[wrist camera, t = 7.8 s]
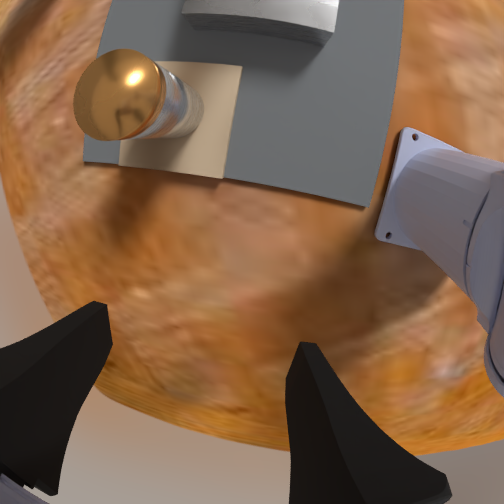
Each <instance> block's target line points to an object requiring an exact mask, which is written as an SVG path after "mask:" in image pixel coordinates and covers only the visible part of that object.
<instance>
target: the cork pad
mask: <svg viewBox="0 0 504 504" xmlns="http://www.w3.org/2000/svg"><path fill="white" fill-rule="evenodd" d="M154 62H156V63H157V64H159V65H160V66H162V67H163V68H165V69H166V70H168V71H169V72H171V73H172V74H174V75H175V76H176V77H178V78H179V79H181V80H182V81H183V82H185V83H186V84H188V85H189V86H190V87H192V88H193V89H195V90H196V91H197V92H198V93H199V95H200V96H201V98H202V100H203V104H204V114H203V118H202V120H201V122H200V124H199V125H198V127H197V128H196V129H195V130H194V131H193V132H191V133H190V134H188V135H186V136H184V137H181V138H159V139H131V140H121V143H120V154H119V166H128V167H138V168H147V169H155V170H164V171H171V172H179V173H186V174H194V175H200V176H207V177H214V178H220V179H222V178H223V177H224V172H225V166H226V159H227V153H228V147H229V141H230V135H231V130H232V124H233V118H234V113H235V107H236V102H237V97H238V91H239V86H240V81H241V76H242V71H243V67H242V66H235V65H226V64H215V63H201V62H177V61H154Z"/></svg>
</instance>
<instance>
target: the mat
mask: <svg viewBox="0 0 504 504" xmlns="http://www.w3.org/2000/svg"><path fill="white" fill-rule="evenodd" d="M184 2H185V0H112V3H111V6H110V10H109V13H108V16H107V19H106V23H105V26H104V30H103V33H102V37H101V41H100V45H99V49H98V53H97V58H98V57H100V56H101V55H103V54H105V53H107V52H110V51H112V50H116V49H132V50H136V51H138V52H140V53H142V54H144V55H145V56H147V57H148V58H150V59H151V60H153V61H177V62H201V63H215V64H226V65H235V66H242V67H243V71H242V76H241V81H240V86H239V91H238V97H237V102H236V107H235V113H234V118H233V124H232V130H231V135H230V141H229V147H228V153H227V159H226V166H225V172H224V177H225V178H231V179H237V180H243V181H248V182H254V183H260V184H265V185H270V186H275V187H280V188H285V189H290V190H295V191H300V192H305V193H309V194H314V195H318V196H323V197H327V198H332V199H336V200H340V201H344V202H348V203H353V204H357V205H361V206H364V207H368V208H369V205H370V202H371V198H372V195H373V191H374V187H375V183H376V179H377V175H378V171H379V167H380V163H381V159H382V155H383V150H384V146H385V141H386V136H387V131H388V126H389V121H390V116H391V111H392V105H393V99H394V93H395V87H396V80H397V73H398V65H399V57H400V48H401V38H402V26H403V10H404V0H339V4H338V10H337V17H336V24H335V30H334V33H333V35H332V36H331V38H330V39H329V41H328V42H327V44H326V45H325V46H324V47H320V46H316V45H311V44H307V43H303V42H298V41H293V40H288V39H282V38H277V37H271V36H264V35H257V34H249V33H240V32H229V31H215V30H194V28H193V27H192V26H191V25H190V23H189V22H188V21H187V20H186V18H185V17H184V16H183V15H182V14H181V13H182V9H183V6H184ZM97 58H96V59H97ZM120 143H121V140H115V141H101V140H96V139H93V138H91V137H90V136H88V135H87V134H85V138H84V151H83V161H87V162H101V163H113V164H119V154H120Z"/></svg>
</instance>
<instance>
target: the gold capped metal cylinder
mask: <svg viewBox="0 0 504 504" xmlns="http://www.w3.org/2000/svg"><path fill="white" fill-rule="evenodd" d="M73 107H74V114H75V118H76V121H77V123H78V125H79V126H80V128H81V129H82V130H83V132H84V133H85V134H87V135H88V136H90V137H91V138H93V139H96V140H101V141H115V140H131V139H159V138H181V137H184V136H186V135H188V134H190V133H191V132H193V131H194V130H195V129H196V128H197V127H198V125H199V124H200V122H201V120H202V118H203V114H204V104H203V100H202V98H201V96H200V95H199V93H198V92H197V91H196V90H195V89H193V88H192V87H190V86H189V85H188V84H186V83H185V82H183V81H182V80H181V79H179V78H178V77H176V76H175V75H174V74H172V73H171V72H169V71H168V70H166V69H165V68H163V67H162V66H160V65H159V64H157V63H156V62H154V61H153V60H151V59H150V58H148V57H147V56H145V55H144V54H142V53H140V52H138V51H136V50H132V49H116V50H112V51H110V52H107V53H105V54H103V55H101V56H100V57H98V58H97V59H96V60H94V61H93V62H92V63H91V64H90V65H89V66H88V67H87V69H86V70H85V71H84V73H83V74H82V76H81V78H80V80H79V82H78V84H77V87H76V90H75V94H74V102H73Z"/></svg>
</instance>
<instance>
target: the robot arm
mask: <svg viewBox="0 0 504 504" xmlns="http://www.w3.org/2000/svg"><path fill="white" fill-rule="evenodd" d="M413 134H415V135H416V139H415V140H413V139H412V135H413ZM388 232H390V235H389V237H386V234H387V233H388ZM375 237H376V238H377V239H378V240H380V241H383V242H388V243H392V244H396V245H400V246H404V247H409V248H413V249H417V250H421V251H423V252H424V253H425V254H426V255H427V256H428V257H429V258H430V259H431V260H433V261H434V262H435V263H436V264H437V265H438V266H439V267H440V268H441V269H442V270H443V271H444V272H445V273H446V274H447V275H448V276H449V277H450V278H451V279H452V280H453V281H454V282H455V283H456V284H457V285H458V286H459V288H460V289H461V290H462V291H463V292H464V293H465V294H466V295H467V296H468V297H469V298H470V299H471V300H472V301H473V302H474V304H475V305H476V307H477V310H478V315H477V321H478V322H479V323H480V324H481V326H482V327H483V328H484V329H485V331H486V332H487V333H488V337H487V340H486V344H485V348H484V364H485V368H486V372H487V375H488V377H489V379H490V381H491V383H492V384H493V386H494V387H495V389H496V390H497V391H498V392H499V393H500V394H501V395H502V396H503V397H504V163H503V162H499V161H495V160H492V159H488V158H484V157H480V156H476V155H472V154H467V153H464V152H462V151H460V150H458V149H456V148H454V147H452V146H450V145H448V144H446V143H444V142H442V141H440V140H438V139H436V138H433V137H431V136H429V135H427V134H424V133H422V132H420V131H417V130H415V129H412V128H410V127H404V128H403V129H402V130H401V132H400V137H399V142H398V147H397V151H396V155H395V160H394V164H393V168H392V172H391V176H390V180H389V184H388V188H387V191H386V195H385V199H384V202H383V206H382V209H381V213H380V216H379V219H378V223H377V226H376V229H375ZM112 345H113V342H112V336H111V330H110V323H109V316H108V308H107V304H103V303H100V302H96V301H92V302H90V303H88V304H87V305H85V306H83V307H81V308H80V309H78V310H76V311H74V312H73V313H71V314H69V315H68V316H66V317H64V318H62V319H61V320H59V321H57V322H55V323H54V324H52V325H50V326H48V327H47V328H45V329H43V330H41V331H39V332H37V333H35V334H33V335H31V336H29V337H27V338H25V339H23V340H21V341H19V342H16V343H14V344H11V345H9V346H6V347H3V348H0V504H49V503H47V502H45V501H43V500H42V499H40V498H38V497H37V496H35V495H33V494H32V493H30V492H28V491H27V490H25V489H24V488H23V486H24V484H25V485H26V486H28V487H29V488H31V489H33V488H34V487H35V488H37V489H39V490H40V491H42V492H44V493H46V494H47V495H49V496H54V495H57V494H58V487H59V480H60V474H61V468H62V464H63V459H64V455H65V451H66V447H67V444H68V441H69V437H70V434H71V431H72V428H73V426H74V423H75V420H76V417H77V415H78V413H79V411H80V408H81V406H82V404H83V403H84V401H85V399H86V397H87V395H88V394H89V392H90V390H91V388H92V386H93V385H94V383H95V381H96V379H97V377H98V376H99V374H100V372H101V370H102V369H103V367H104V365H105V362H106V360H107V358H108V355H109V353H110V350H111V348H112ZM285 404H286V415H287V424H288V434H289V443H290V453H291V474H290V475H291V476H290V494H289V504H444V503H445V502H447V501H448V500H449V499H450V498H451V497H452V493H451V490H450V486H449V483H448V480H447V477H446V475H445V474H444V473H442V472H440V471H438V470H436V469H434V468H433V467H431V466H429V465H427V464H426V463H424V462H422V461H421V460H419V459H417V458H416V457H415V456H413V455H412V454H410V453H409V452H408V451H406V450H405V449H404V448H402V447H401V446H400V445H398V444H397V443H396V442H395V441H394V440H393V439H391V438H390V437H389V436H388V435H387V434H386V433H385V432H383V431H382V430H381V429H380V428H379V427H378V426H377V425H376V424H375V423H374V422H373V421H372V420H371V418H370V417H369V416H368V415H367V414H366V413H365V412H364V411H363V410H362V409H361V407H360V406H359V405H358V404H357V402H356V401H355V400H354V399H353V397H352V396H351V395H350V393H349V392H348V391H347V389H346V388H345V387H344V385H343V384H342V382H341V381H340V379H339V378H338V377H337V375H336V374H335V372H334V371H333V369H332V367H331V366H330V364H329V363H328V361H327V360H326V358H325V357H324V355H323V353H322V352H321V350H320V349H319V347H318V346H317V344H316V343H308V342H300V343H299V345H298V348H297V351H296V353H295V356H294V359H293V361H292V364H291V366H290V369H289V372H288V374H287V377H286V389H285Z"/></svg>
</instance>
